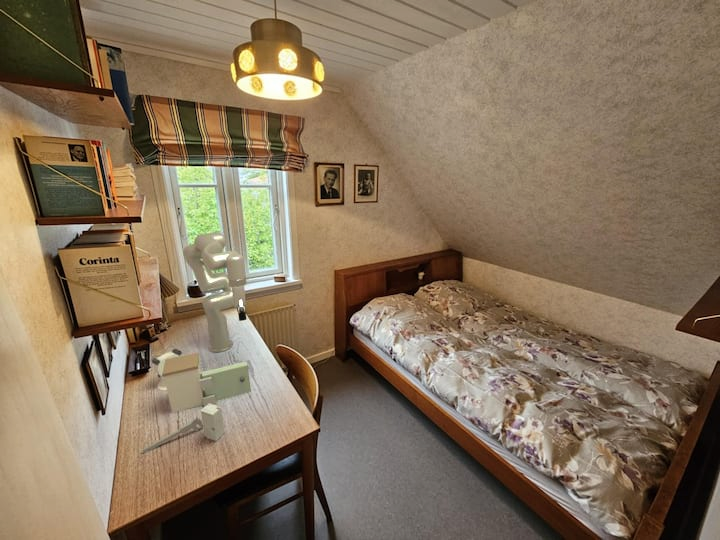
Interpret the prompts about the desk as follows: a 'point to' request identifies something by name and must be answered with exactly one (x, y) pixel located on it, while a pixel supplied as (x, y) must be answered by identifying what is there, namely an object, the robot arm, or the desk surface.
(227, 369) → the door
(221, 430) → the skincare box
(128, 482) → the desk surface
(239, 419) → the desk surface
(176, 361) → the cabinet
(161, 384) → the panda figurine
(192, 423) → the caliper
